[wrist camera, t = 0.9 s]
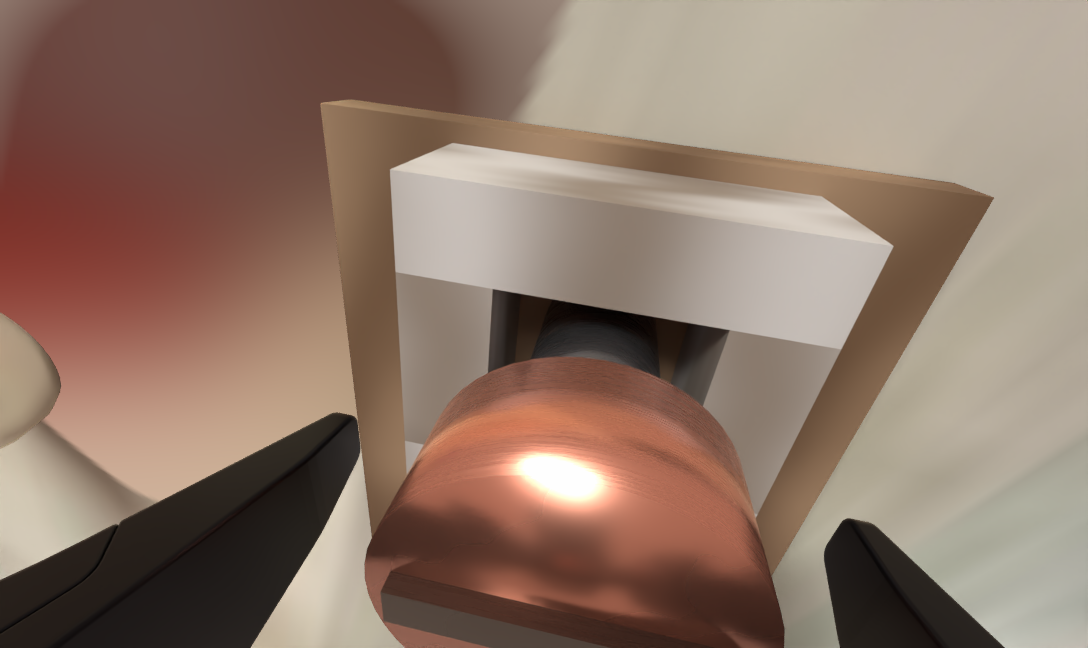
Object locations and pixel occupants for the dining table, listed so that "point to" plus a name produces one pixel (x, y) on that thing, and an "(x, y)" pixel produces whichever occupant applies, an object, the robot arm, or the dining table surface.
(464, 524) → the copper knob
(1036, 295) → the dining table surface
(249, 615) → the robot arm
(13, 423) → the plastic bottle
